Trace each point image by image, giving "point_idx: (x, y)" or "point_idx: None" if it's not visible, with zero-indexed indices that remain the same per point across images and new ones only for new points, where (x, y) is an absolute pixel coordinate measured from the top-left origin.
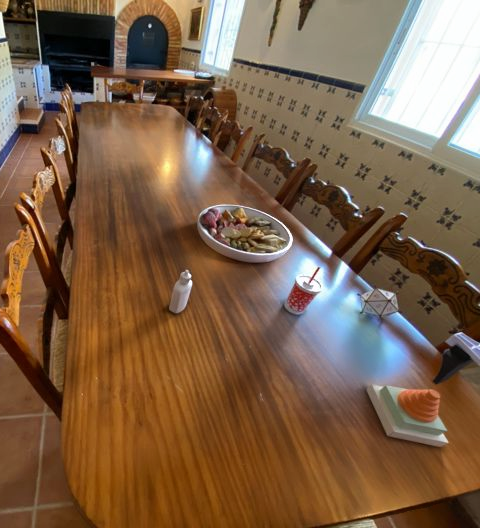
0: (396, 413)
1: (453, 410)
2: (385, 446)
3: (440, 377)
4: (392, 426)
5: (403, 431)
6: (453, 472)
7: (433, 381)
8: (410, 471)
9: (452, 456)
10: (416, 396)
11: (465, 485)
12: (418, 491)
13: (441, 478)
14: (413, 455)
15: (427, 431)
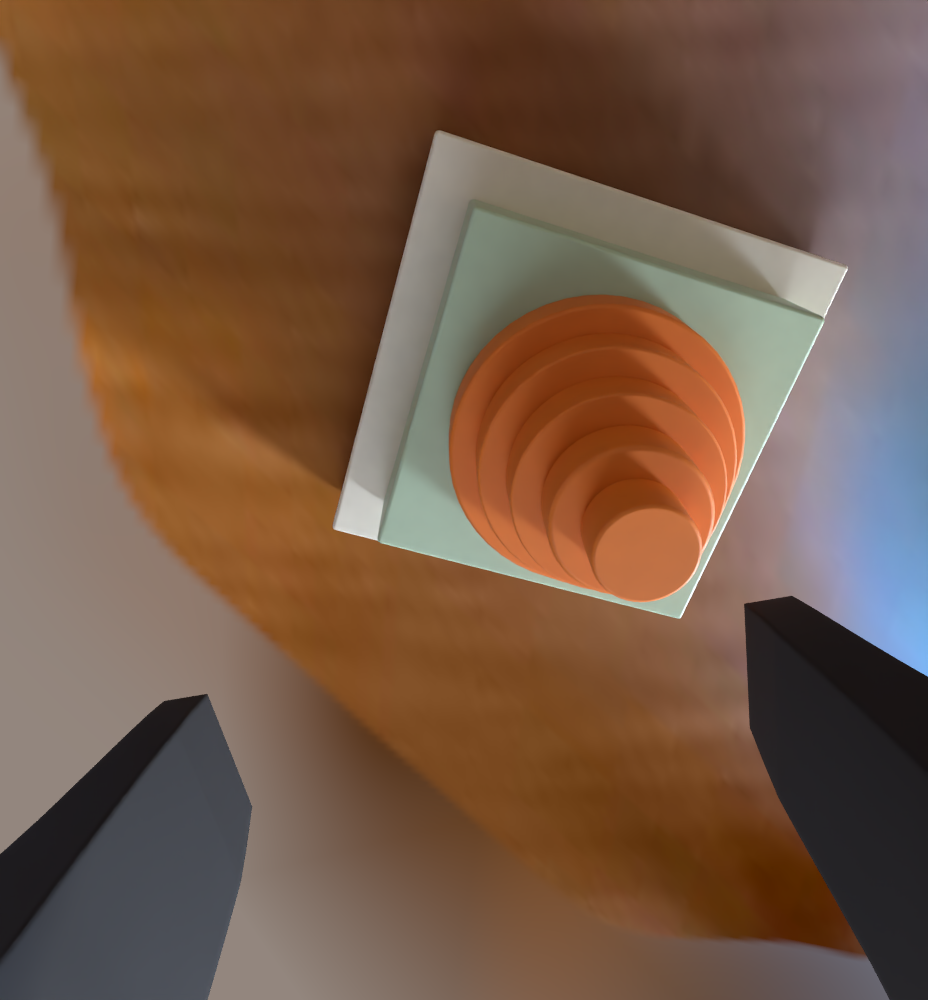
0: (567, 232)
1: (547, 763)
2: (360, 41)
3: (844, 665)
4: (477, 147)
5: (430, 224)
6: (191, 447)
7: (791, 601)
8: (180, 114)
9: (286, 525)
10: (664, 408)
11: (120, 458)
12: (45, 57)
13: (149, 329)
14: (292, 243)
15: (407, 418)
